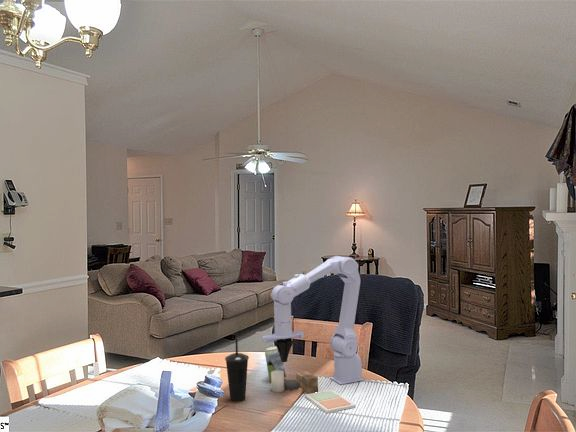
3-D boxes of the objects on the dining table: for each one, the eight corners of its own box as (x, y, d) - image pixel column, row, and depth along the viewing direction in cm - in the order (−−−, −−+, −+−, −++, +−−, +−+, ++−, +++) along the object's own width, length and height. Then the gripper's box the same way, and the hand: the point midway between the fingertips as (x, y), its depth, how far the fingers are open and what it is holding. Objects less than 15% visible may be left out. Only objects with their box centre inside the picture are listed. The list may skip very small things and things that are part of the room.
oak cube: (306, 382, 179) (306, 371, 179) (312, 386, 175) (311, 374, 175) (296, 384, 177) (296, 373, 177) (301, 388, 173) (301, 376, 173)
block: (312, 388, 172) (312, 374, 172) (318, 392, 169) (317, 377, 169) (302, 390, 171) (301, 375, 171) (307, 394, 167) (307, 379, 167)
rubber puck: (295, 384, 177) (295, 379, 177) (300, 389, 173) (300, 383, 173) (281, 386, 175) (281, 381, 175) (287, 391, 171) (287, 385, 171)
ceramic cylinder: (281, 386, 175) (280, 369, 175) (286, 390, 171) (286, 373, 171) (269, 388, 173) (269, 371, 173) (274, 392, 169) (274, 375, 169)
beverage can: (284, 384, 178) (283, 350, 178) (263, 383, 179) (262, 349, 179) (287, 378, 184) (286, 345, 184) (268, 377, 185) (267, 344, 185)
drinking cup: (253, 396, 166) (251, 335, 166) (243, 404, 159) (242, 341, 159) (232, 394, 169) (230, 334, 169) (221, 402, 162) (220, 339, 162)
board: (331, 392, 169) (331, 389, 169) (355, 407, 155) (355, 404, 155) (304, 397, 164) (304, 394, 164) (326, 413, 151) (326, 410, 151)
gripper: (297, 316, 177) (298, 355, 178) (258, 321, 172) (259, 361, 172) (306, 320, 171) (307, 360, 171) (266, 325, 165) (267, 366, 165)
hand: (284, 361), depth 171 cm, fingers closed
